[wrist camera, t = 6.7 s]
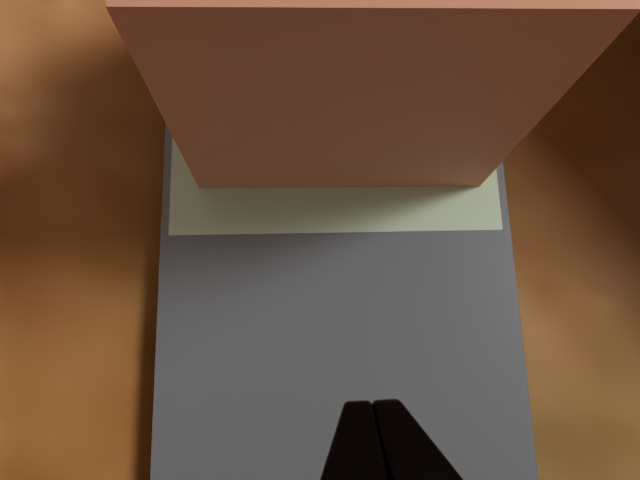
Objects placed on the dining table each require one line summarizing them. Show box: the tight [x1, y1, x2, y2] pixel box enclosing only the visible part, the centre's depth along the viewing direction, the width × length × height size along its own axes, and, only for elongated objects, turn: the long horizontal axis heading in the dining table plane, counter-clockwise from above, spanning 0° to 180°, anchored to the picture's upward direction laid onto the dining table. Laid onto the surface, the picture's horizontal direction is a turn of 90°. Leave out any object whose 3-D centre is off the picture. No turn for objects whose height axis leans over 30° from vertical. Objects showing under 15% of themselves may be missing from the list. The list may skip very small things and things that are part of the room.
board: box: [150, 123, 538, 480], centre depth 18 cm, size 20×11×1 cm, turn 2°
